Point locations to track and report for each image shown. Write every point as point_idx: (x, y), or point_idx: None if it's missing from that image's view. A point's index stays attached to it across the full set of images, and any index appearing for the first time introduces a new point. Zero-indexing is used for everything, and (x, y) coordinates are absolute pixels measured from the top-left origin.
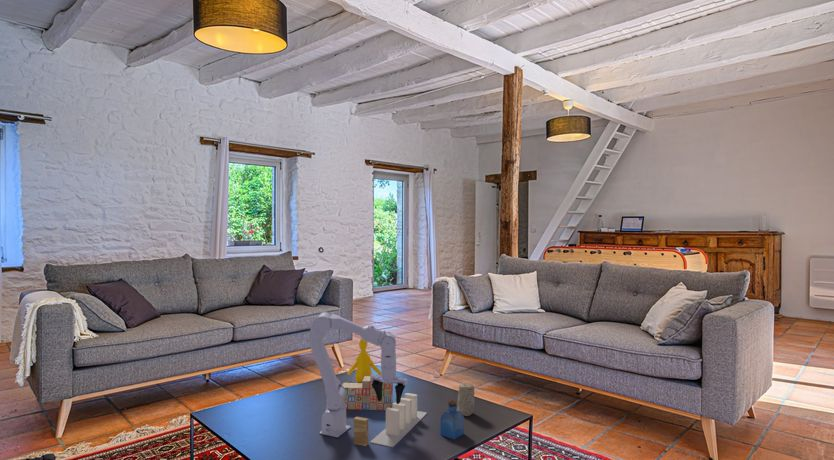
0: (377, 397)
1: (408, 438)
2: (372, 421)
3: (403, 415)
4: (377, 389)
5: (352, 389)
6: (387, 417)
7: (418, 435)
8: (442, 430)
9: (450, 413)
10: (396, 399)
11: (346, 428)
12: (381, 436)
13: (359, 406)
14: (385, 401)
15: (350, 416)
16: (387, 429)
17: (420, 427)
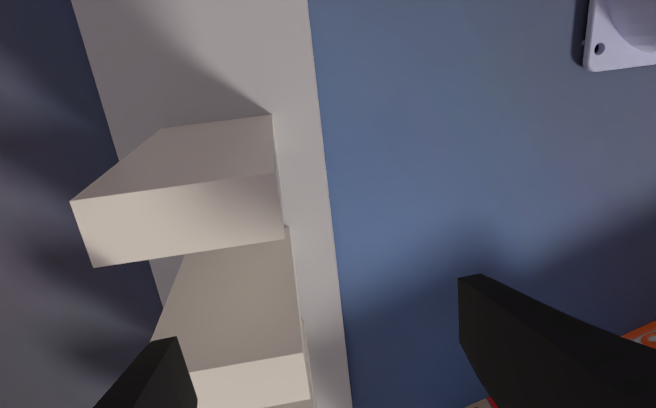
0: (519, 295)
1: (66, 148)
2: (478, 240)
3: (168, 306)
4: (631, 394)
5: None
6: (250, 149)
7: (39, 232)
8: None
9: None
10: (145, 380)
11: (604, 11)
12: (269, 47)
13: (651, 344)
14: None
15: (653, 223)
16: (254, 123)
17: (123, 339)
